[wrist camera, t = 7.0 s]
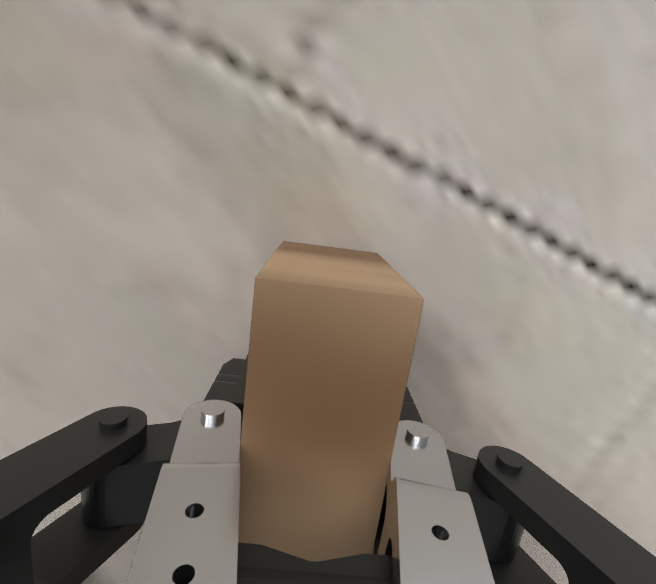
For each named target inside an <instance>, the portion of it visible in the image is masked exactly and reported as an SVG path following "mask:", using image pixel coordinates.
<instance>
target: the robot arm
mask: <svg viewBox="0 0 656 584" xmlns="http://www.w3.org/2000/svg"><path fill="white" fill-rule="evenodd" d="M248 354H249V353H248ZM247 365H248V355H247V358H246V360H244V359H236V358H233V359H232V360H230V361H228V362H227V363H225V364H224V365H223V366H222V368H221V370H220V372H219V375H217V377H216V379H215V381H214V383H213V384H212V386H211V388H210V390H209V392H208V394H207V395H206V397H205V399H204V401H201V402H198V403H196V404H193V405H192V406H190V407H189V408H188V409H186V411H185V412H184V414H183V418H182V420H180V421H177V422H172V423H165V424H154V425H147V416H146V414H145V413H144V412H143V411H141V410H139V409H137V408H133V407H126V406H119V407H111V408H106V409H102V410H99V411H97V412H94V413H92V414H90V415H88V416H86V417H84V418H82V419H80V420H78V421H76V422H74V423H72V424H70V425H68V426H67V427H65V428H63V429H61V430H59V431H57V432H55V433H53V434H51V435H49V436H47V437H45V438H43V439H41V440H39V441H37V442H35V443H33V444H31V445H29V446H27V447H25V448H23V449H21V450H19V451H17V452H15V453H13V454H11V455H9V456H7V457H5V458H3V459H2V460H0V584H81V583H82V582H83V581H84V580H85V579H86V578H87V577H88V576H89V575H91V574H92V573H93V572H94V571H95V570H96V569H97V568H98V567H99V566H100V565H102V564H103V563H104V562H105V561H106V560H107V559H108V558H109V557H110V556H111V555H113V554H114V553H115V552H116V551H117V550H118V549H119V548H120V547H121V546H122V545H123V544H125V543H126V542H127V541H128V540H129V539H130V538H131V537H132V536H133V535H134V534H136V532H137V531H138V530H139V529H140V528H141V527H142V525H143V523H144V521H145V523H144V526H143V529H142V532H141V536H140V539H139V542H138V545H137V549H136V552H135V555H134V558H133V561H132V565H131V568H130V571H129V574H128V578H127V581H126V584H556V583H555V582H554V581H553V580H552V579H551V578H550V577H549V576H548V575H547V574H546V573H545V572H544V571H543V570H542V569H541V568H540V567H539V566H538V565H537V563H536V562H535V561H534V560H533V559H532V558H531V557H530V556H529V555H528V554H527V553H526V552H525V551H524V550H523V549H522V548H521V547H520V546H519V543H520V540H521V537H522V534H523V531H524V529H525V530H527V531H528V532H529V533H530V534H531V535H532V536H533V537H534V538H535V539H536V540H537V541H538V542H539V543H540V544H541V545H542V546H543V547H544V548H545V549H546V550H548V551H549V552H550V553H551V554H552V555H553V556H554V557H555V558H556V559H557V560H558V561H559V562H560V564H561V565H562V567H563V568H564V570H565V572H566V574H567V577H568V581H569V584H656V557H655V556H653V555H652V554H651V553H650V552H648V551H647V550H646V549H644V548H643V547H642V546H640V545H639V544H638V543H636V542H635V541H634V540H633V539H631V538H630V537H629V536H627V535H626V534H625V533H623V532H622V531H621V530H619V529H618V528H617V527H616V526H614V525H613V524H612V523H610V522H609V521H608V520H606V519H605V518H604V517H602V516H601V515H600V514H599V513H597V512H596V511H595V510H593V509H592V508H591V507H589V506H588V505H587V504H585V503H584V502H583V501H582V500H580V499H579V498H578V497H576V496H575V495H574V494H572V493H571V492H570V491H568V490H567V489H566V488H565V487H563V486H562V485H561V484H559V483H558V482H557V481H555V480H554V479H553V478H551V477H550V476H549V475H548V474H546V473H545V472H544V471H542V470H541V469H540V468H538V467H537V466H536V465H534V464H533V463H532V462H531V461H529V460H528V459H526V458H525V457H524V456H522V455H520V454H519V453H517V452H515V451H512V450H510V449H507V448H504V447H499V446H486V447H483V448H482V449H480V451H479V454H478V457H477V460H476V459H473V458H470V457H467V456H464V455H461V454H457V453H455V452H452V451H450V450H447V449H446V447H445V442H444V440H443V438H442V436H441V435H440V434H439V433H438V432H437V431H436V430H434V429H433V428H431V427H430V426H428V425H426V424H423V422H422V420H421V417H420V415H419V413H418V411H417V408H416V406H415V404H413V399H412V397H411V396H410V393H409V390H408V388H407V386H406V390H405V394H404V399H403V404H402V409H401V414H400V419H399V424H398V429H397V434H396V439H395V444H394V449H393V454H392V459H391V460H390V465H389V470H388V475H387V483H386V488H385V493H384V498H383V503H382V508H381V513H380V518H379V523H378V528H377V532H376V537H375V538H374V542H373V547H372V552H371V554H366V553H365V554H359V555H353V556H348V557H342V558H336V559H330V560H324V561H318V562H313V561H308V560H305V559H302V558H299V557H296V556H293V555H290V554H287V553H285V552H282V551H279V550H276V549H273V548H270V547H267V546H264V545H261V544H250V543H239V542H238V528H239V498H240V468H241V462H239V460H240V443H241V432H242V421H243V409H244V398H245V387H246V376H247ZM80 492H81V503H79V504H78V505H76V506H75V507H73V508H72V509H71V510H69V511H68V512H66V513H65V514H64V515H62V516H61V517H59V518H58V519H57V520H55V521H54V522H52V523H51V524H50V525H48V526H47V527H45V528H44V529H43V530H41V531H40V532H38V533H37V534H36V535H34V536H33V537H32V535H33V533H34V531H35V529H36V527H37V526H38V525H39V523H40V522H41V521H42V520H43V519H44V518H45V517H46V516H47V515H48V514H50V513H51V512H52V511H54V510H55V509H57V508H58V507H60V506H61V505H62V504H64V503H65V502H67V501H68V500H70V499H71V498H73V497H74V496H76V495H77V494H78V493H80Z"/></svg>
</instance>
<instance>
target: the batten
mask: <svg viewBox="0 0 656 584" xmlns="http://www.w3.org/2000/svg"><path fill="white" fill-rule="evenodd" d="M423 301H424V298H423V297H422V296H421V295H420V294H419V293H418V292H417V291H416V290H414V289H413V288H412V287H411V286H410V285H409V284H408V283H407V282H406V281H405V280H404V279H403V278H402V277H401V276H400V275H399V274H398V273H397V272H396V271H395V270H394V269H393V268H392V267H391V266H390V265H389V264H388V263H387V262H386V261H385V260H384V259H383V258H382V257H380V256H379V255H378V254H377V253H370V252H363V251H355V250H348V249H340V248H332V247H325V246H317V245H309V244H302V243H294V242H287V241H283V242H282V244H281V245H280V246H279V248H278V249H277V250H276V251H275V253H274V254H273V255H272V257H271V258H270V259H269V261H268V262H267V263H266V264H265V266H264V267H263V268H262V270H261V271H260V272H259V274H258V275H257V276H256V277H255V287H254V298H253V309H252V321H251V332H250V343H249V354H248V365H247V376H246V387H245V398H244V409H243V421H242V432H241V443H240V460H239V462H241V468H240V498H239V528H238V542H239V543H250V544H261V545H264V546H267V547H270V548H273V549H276V550H279V551H282V552H285V553H287V554H290V555H293V556H296V557H299V558H302V559H305V560H308V561H313V562H318V561H324V560H330V559H336V558H342V557H348V556H353V555H359V554H365V553H366V554H371V552H372V547H373V542H374V538H375V537H376V532H377V528H378V523H379V518H380V513H381V508H382V503H383V498H384V493H385V488H386V483H387V475H388V470H389V465H390V460H391V459H392V454H393V449H394V444H395V439H396V434H397V429H398V424H399V419H400V414H401V409H402V404H403V399H404V394H405V390H406V385H407V380H408V375H409V370H410V365H411V360H412V355H413V350H414V345H415V340H416V335H417V330H418V326H419V321H420V316H421V311H422V306H423Z"/></svg>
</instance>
